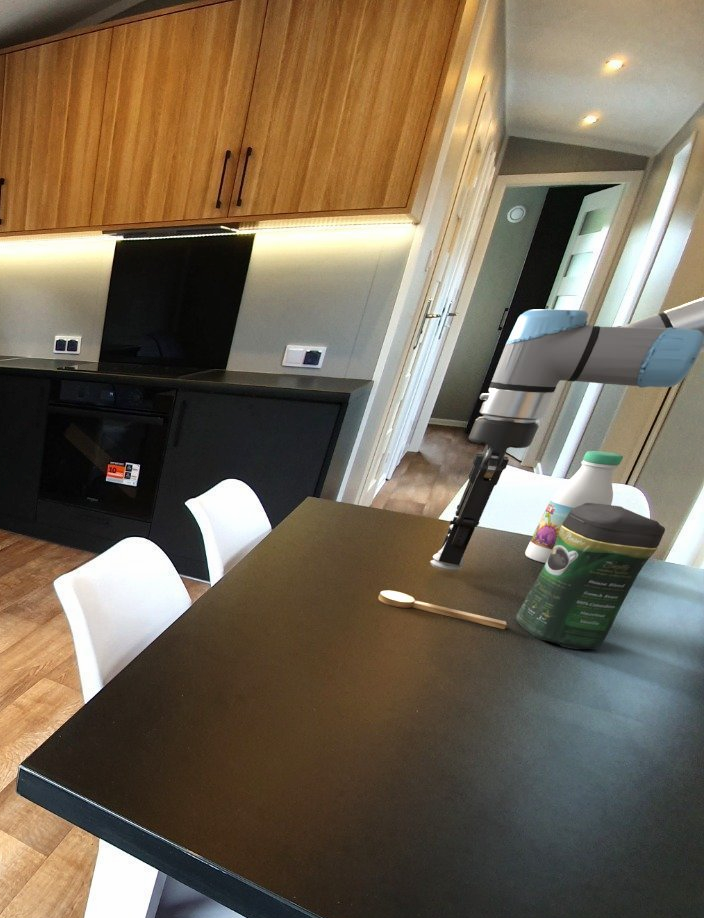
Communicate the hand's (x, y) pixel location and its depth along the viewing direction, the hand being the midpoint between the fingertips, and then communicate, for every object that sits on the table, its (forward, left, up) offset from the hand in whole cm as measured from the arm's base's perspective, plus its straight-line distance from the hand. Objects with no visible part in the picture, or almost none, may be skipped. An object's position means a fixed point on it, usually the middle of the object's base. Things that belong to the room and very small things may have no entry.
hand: (448, 558), depth 108 cm
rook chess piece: (0, 0, -2) cm, 2 cm away
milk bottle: (-16, -24, -3) cm, 29 cm away
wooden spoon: (+1, +20, -3) cm, 20 cm away
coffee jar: (-13, +18, -3) cm, 22 cm away
